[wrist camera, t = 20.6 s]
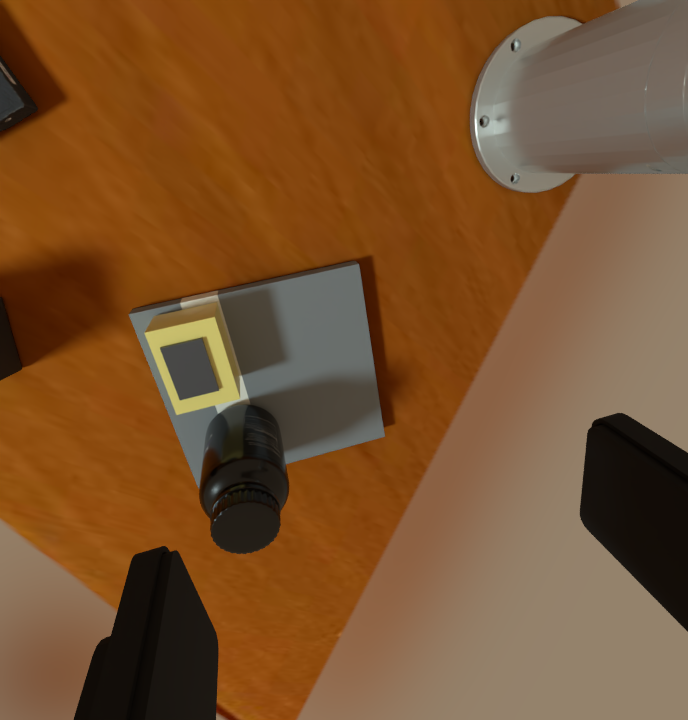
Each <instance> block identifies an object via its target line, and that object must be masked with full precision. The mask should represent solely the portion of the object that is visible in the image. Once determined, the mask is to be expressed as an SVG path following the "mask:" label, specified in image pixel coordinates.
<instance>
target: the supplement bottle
mask: <svg viewBox="0 0 688 720" xmlns="http://www.w3.org/2000/svg"><path fill="white" fill-rule="evenodd" d="M288 494H289V480H288V474H287V467H286V461H285V455H284V449H283V443H282V437H281V432H280V428H279V425H278V422H277V421H276V419H275V418H274V416H273V415H272V414H271V413H269V412H268V411H267V410H265V409H263V408H261V407H258V406H255V405H248V404H242V405H235V406H232V407H229V408H227V409H225V410H223V411H221V412H220V413H218V414H217V415H216V416H215V417H214V418H213V419H212V421H211V422H210V424H209V426H208V428H207V432H206V437H205V444H204V453H203V461H202V470H201V479H200V488H199V499H200V504H201V507H202V509H203V510H204V512H205V514H206V515H207V516H208V517H209V518H210V521H211V526H210V530H211V537H212V538H213V541H214V542H215V543H216V545H217V546H219V547H220V548H221V549H224V550H225V551H228V552H231V553H237V554H241V553H242V554H246V553H252V552H254V551H259V550H260V549H263V548H265V547H266V546H267V545H269V544H270V543H271V542H272V541H274V538H275V537H276V536H277V533H278V532H279V528H280V525H281V524H280V511H281V510H282V508H283V507H284V505H285V503H286V501H287V498H288Z"/></svg>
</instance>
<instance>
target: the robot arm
mask: <svg viewBox="0 0 688 720" xmlns="http://www.w3.org/2000/svg"><path fill="white" fill-rule="evenodd" d="M511 47H512V50H511ZM480 120H481V125H480V123H479V121H480ZM470 131H471V138H472V144H473V147H474V150H475V153H476V156H477V158H478V160H479V162H480V164H481V165H482V167H483V169H484V170H485V171H486V173H487V174H488V175H489V176H490V177H491V178H492V179H493V180H494V181H495V182H497V183H498V184H500V185H501V186H503V187H505V188H508V189H510V190H513V191H519V192H541V191H546V190H550V189H552V188H554V187H556V186H559V185H561V184H562V183H564V182H565V181H567V180H568V179H570V178H571V177H573V176H574V175H575V174H576V173H583V174H586V173H587V174H590V173H591V174H594V173H595V174H596V173H597V174H600V173H601V174H603V173H604V174H605V173H606V174H609V173H610V174H611V173H613V174H614V173H615V174H616V173H617V174H624V173H625V174H631V173H633V174H640V173H641V174H688V0H638V1H636V2H634V3H631V4H629V5H627V6H624V7H622V8H620V9H617V10H615V11H613V12H610V13H608V14H606V15H603V16H601V17H599V18H596V19H594V20H592V21H589V22H587V23H585V24H582V23H580V22H578V21H577V20H575V19H571V18H567V17H563V16H548V17H544V18H541V19H537V20H534V21H532V22H530V23H528V24H526V25H524V26H522V27H520V28H518V29H517V30H516V31H514V32H513V33H511V34H510V35H508V36H507V37H506V38H505V39H504V40H503V41H502V42H501V43H500V44H499V45H498V46H497V47H496V48H495V50H494V51H493V53H492V54H491V55H490V57H489V58H488V60H487V61H486V63H485V65H484V67H483V69H482V71H481V73H480V75H479V77H478V80H477V83H476V86H475V90H474V93H473V97H472V103H471V110H470ZM510 179H511V180H510ZM580 517H581V520H582V522H583V524H584V526H585V527H586V528H587V530H589V532H590V533H591V534H592V535H593V536H594V537H595V538H596V539H597V540H598V541H599V542H600V543H601V544H602V545H603V546H604V547H605V548H606V549H607V550H608V551H609V552H610V553H611V554H612V555H613V556H614V557H615V558H616V559H617V560H618V561H619V562H620V563H621V564H622V565H623V566H624V567H625V568H626V569H627V570H628V571H629V572H630V573H631V574H632V576H634V578H635V579H636V580H637V581H638V582H639V583H640V584H641V585H642V586H643V587H644V588H645V589H646V590H647V591H648V592H649V593H650V594H651V595H652V596H653V597H654V598H655V599H656V600H657V601H658V602H659V603H660V604H661V605H662V606H663V607H664V608H665V609H666V610H667V611H668V612H669V613H670V614H671V615H672V616H673V617H674V618H675V619H676V620H677V621H678V622H679V623H680V624H681V625H682V626H683V627H684V628H685V629H686V630H687V631H688V453H687V452H685V451H684V450H682V449H681V448H679V447H677V446H676V445H674V444H673V443H671V442H669V441H668V440H666V439H665V438H663V437H661V436H660V435H658V434H657V433H655V432H653V431H652V430H650V429H648V428H647V427H645V426H643V425H642V424H640V423H639V422H637V421H636V420H634V419H632V418H631V417H629V416H628V415H625V414H623V413H617V414H613V415H610V416H606V417H603V418H599V419H597V420H595V421H594V422H593V423H592V427H591V428H590V429H589V430H588V433H587V443H586V454H585V464H584V475H583V485H582V495H581V505H580ZM217 676H218V640H217V635H216V632H215V629H214V627H213V625H212V623H211V621H210V619H209V616H208V614H207V612H206V610H205V608H204V606H203V603H202V601H201V599H200V597H199V595H198V593H197V591H196V588H195V586H194V584H193V582H192V580H191V578H190V576H189V573H188V571H187V569H186V567H185V565H184V563H183V561H182V558H181V556H180V554H179V552H178V551H172V552H170V551H169V550H168V548H167V547H165V546H162V547H159V548H156V549H152V550H149V551H145V552H142V553H138V554H135V555H134V556H133V558H132V561H131V564H130V568H129V571H128V575H127V579H126V582H125V586H124V590H123V593H122V597H121V601H120V604H119V608H118V612H117V615H116V619H115V623H114V627H113V630H112V634H111V636H110V637H106V638H105V639H103V640H101V641H100V643H99V644H98V645H97V646H96V649H95V651H94V654H93V656H92V660H91V663H90V666H89V670H88V673H87V676H86V680H85V683H84V687H83V690H82V693H81V696H80V700H79V703H78V706H77V710H76V713H75V717H74V720H216V702H217Z"/></svg>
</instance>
